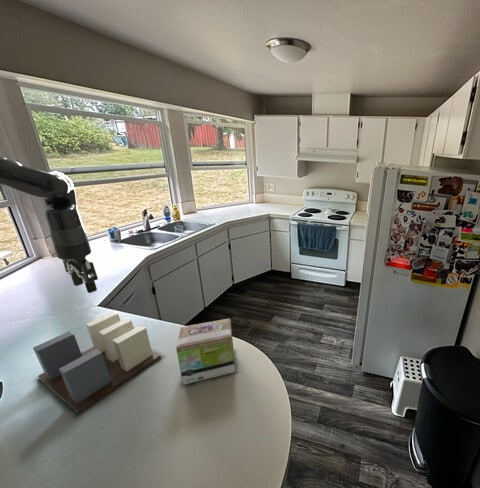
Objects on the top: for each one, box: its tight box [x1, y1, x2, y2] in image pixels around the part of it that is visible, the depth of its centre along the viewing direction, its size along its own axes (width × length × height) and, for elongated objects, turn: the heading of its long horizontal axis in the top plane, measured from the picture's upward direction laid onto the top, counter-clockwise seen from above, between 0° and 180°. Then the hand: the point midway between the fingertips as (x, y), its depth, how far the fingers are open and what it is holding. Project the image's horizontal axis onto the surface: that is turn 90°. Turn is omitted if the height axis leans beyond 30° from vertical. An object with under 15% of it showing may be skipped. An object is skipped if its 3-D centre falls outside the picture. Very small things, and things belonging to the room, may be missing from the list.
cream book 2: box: [99, 317, 135, 362], centre depth 83 cm, size 8×3×11 cm, turn 154°
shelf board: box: [37, 346, 162, 415], centre depth 80 cm, size 22×24×1 cm
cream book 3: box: [112, 325, 153, 372], centre depth 80 cm, size 8×3×11 cm, turn 154°
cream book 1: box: [85, 311, 121, 352], centre depth 86 cm, size 8×3×11 cm, turn 154°
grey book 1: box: [32, 331, 82, 380], centre depth 76 cm, size 8×3×11 cm, turn 154°
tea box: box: [175, 318, 236, 386], centre depth 79 cm, size 15×10×15 cm
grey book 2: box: [59, 349, 111, 404], centre depth 70 cm, size 8×3×11 cm, turn 154°
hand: (85, 288), depth 80 cm, fingers open, 8 cm apart
